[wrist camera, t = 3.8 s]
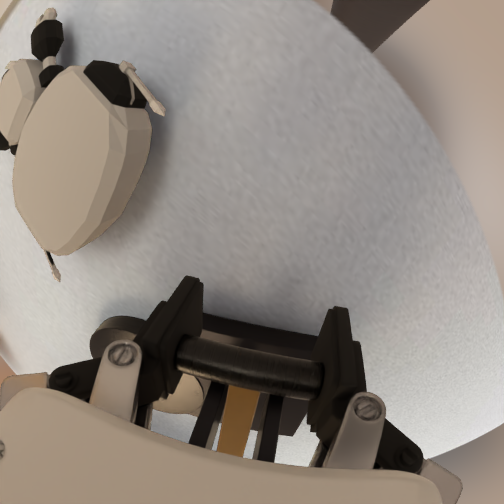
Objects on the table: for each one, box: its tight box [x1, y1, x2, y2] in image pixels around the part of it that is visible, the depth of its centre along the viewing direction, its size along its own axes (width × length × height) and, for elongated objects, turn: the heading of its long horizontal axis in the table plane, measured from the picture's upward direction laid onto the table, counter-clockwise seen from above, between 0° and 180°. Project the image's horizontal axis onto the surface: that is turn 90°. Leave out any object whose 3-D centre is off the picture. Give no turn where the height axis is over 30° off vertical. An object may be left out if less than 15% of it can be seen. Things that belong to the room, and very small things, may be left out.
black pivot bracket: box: [187, 313, 318, 463], centre depth 15 cm, size 12×10×13 cm
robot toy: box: [0, 8, 165, 282], centre depth 12 cm, size 12×4×15 cm
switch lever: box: [174, 334, 325, 457], centre depth 10 cm, size 13×5×2 cm, turn 173°
